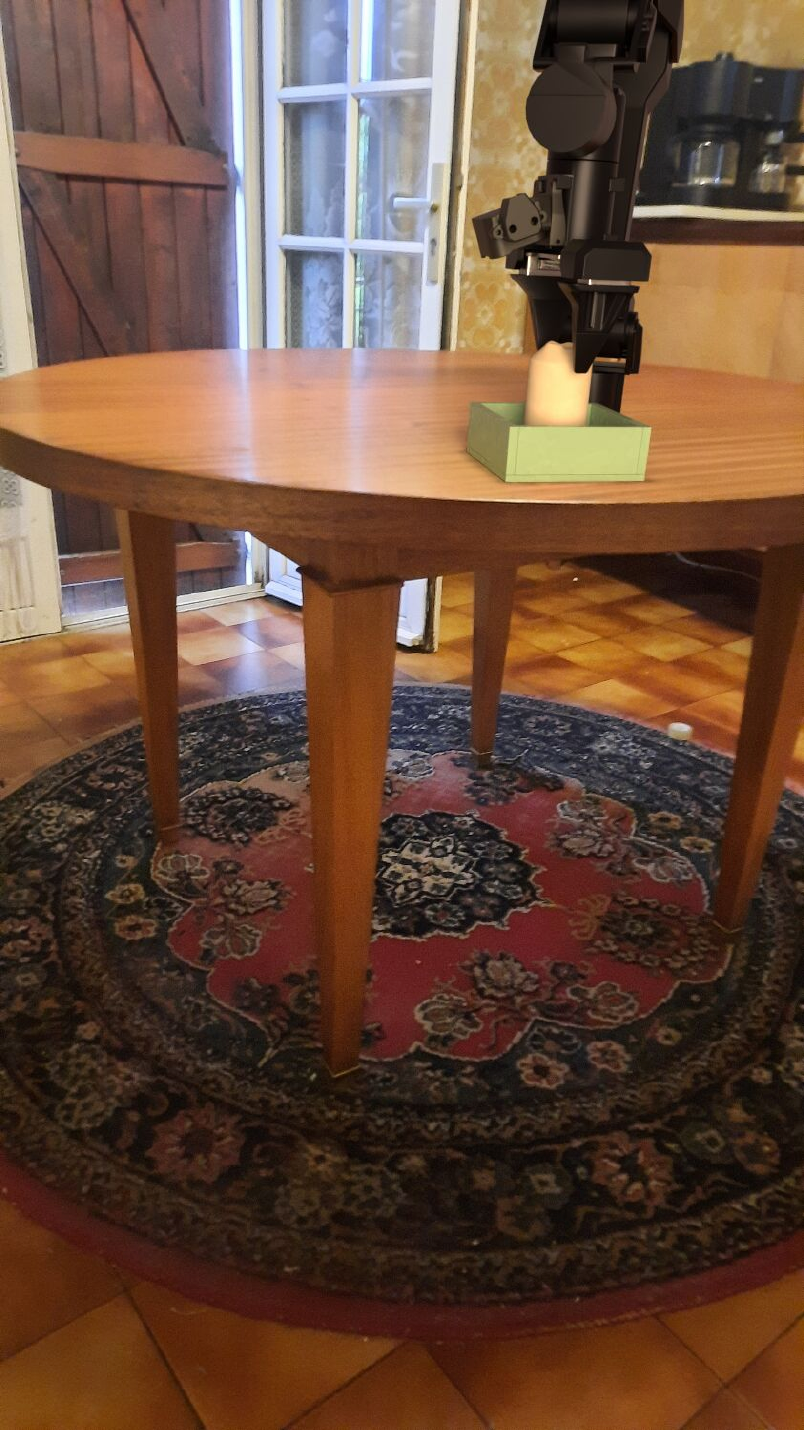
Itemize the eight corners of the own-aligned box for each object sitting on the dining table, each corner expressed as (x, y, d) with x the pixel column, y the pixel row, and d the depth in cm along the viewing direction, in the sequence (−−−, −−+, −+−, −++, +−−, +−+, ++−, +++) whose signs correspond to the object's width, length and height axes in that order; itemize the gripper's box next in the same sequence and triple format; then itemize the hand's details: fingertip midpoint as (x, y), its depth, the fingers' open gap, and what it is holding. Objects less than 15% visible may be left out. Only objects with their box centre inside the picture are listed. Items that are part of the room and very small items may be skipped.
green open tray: (591, 451, 99) (596, 402, 97) (644, 481, 88) (652, 427, 86) (466, 451, 97) (469, 401, 95) (505, 482, 86) (510, 426, 84)
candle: (543, 467, 89) (555, 346, 85) (508, 454, 93) (518, 339, 89) (593, 463, 91) (608, 345, 87) (557, 451, 96) (569, 338, 91)
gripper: (456, 162, 89) (445, 351, 95) (523, 150, 72) (504, 380, 79) (577, 170, 91) (558, 354, 98) (668, 159, 74) (638, 382, 81)
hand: (561, 366), depth 89 cm, fingers open, 9 cm apart
